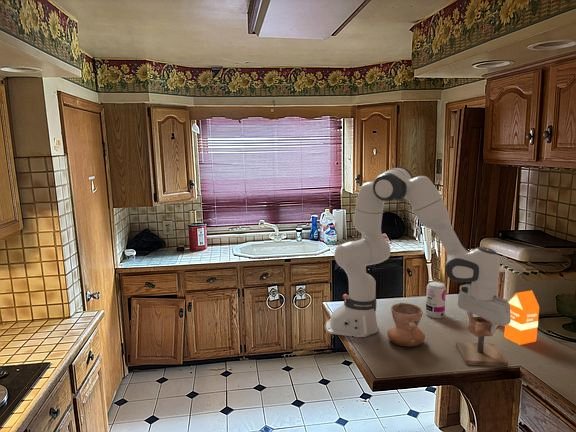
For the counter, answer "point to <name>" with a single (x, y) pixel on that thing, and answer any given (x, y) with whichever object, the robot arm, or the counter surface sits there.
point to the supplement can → (435, 299)
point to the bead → (480, 326)
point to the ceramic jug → (406, 325)
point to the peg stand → (480, 353)
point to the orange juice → (523, 318)
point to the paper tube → (501, 283)
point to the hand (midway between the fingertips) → (481, 327)
